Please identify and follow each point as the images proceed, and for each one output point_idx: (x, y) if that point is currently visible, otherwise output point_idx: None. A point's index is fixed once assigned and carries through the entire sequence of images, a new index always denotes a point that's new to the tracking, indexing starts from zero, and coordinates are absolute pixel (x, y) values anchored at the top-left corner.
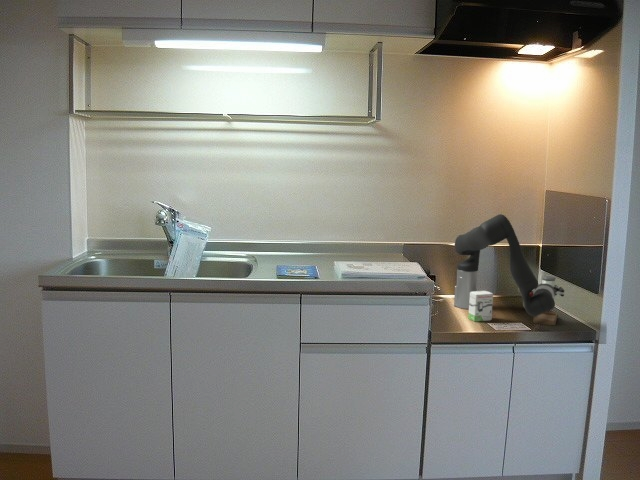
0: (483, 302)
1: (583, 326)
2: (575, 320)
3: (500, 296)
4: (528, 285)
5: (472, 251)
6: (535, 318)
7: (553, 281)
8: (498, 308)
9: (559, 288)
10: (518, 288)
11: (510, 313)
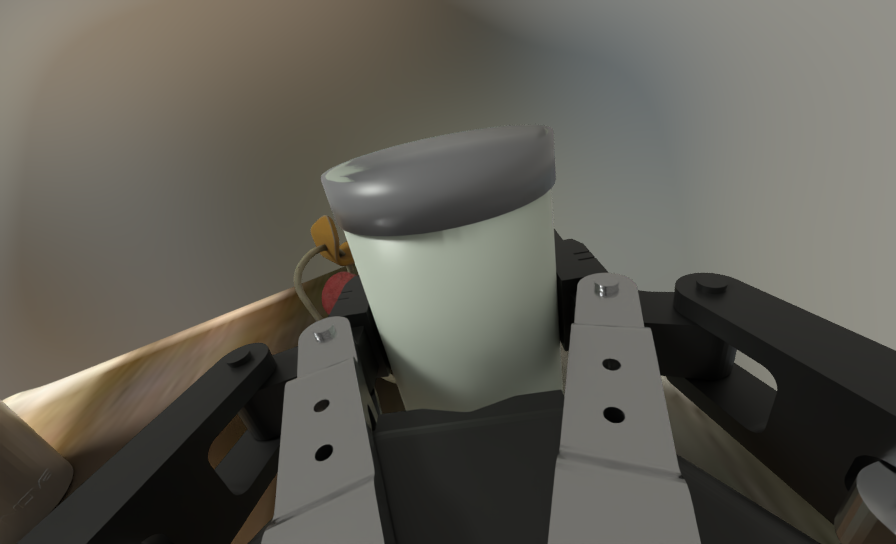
0: None
1: None
2: (673, 403)
3: (294, 289)
4: None
5: None
6: None
7: (543, 204)
8: (219, 439)
9: (721, 329)
10: (295, 280)
11: (261, 508)
